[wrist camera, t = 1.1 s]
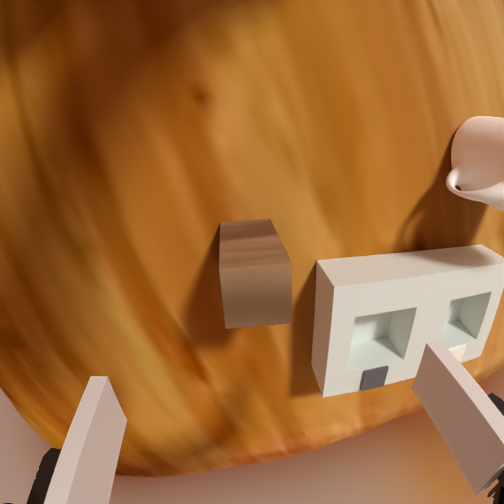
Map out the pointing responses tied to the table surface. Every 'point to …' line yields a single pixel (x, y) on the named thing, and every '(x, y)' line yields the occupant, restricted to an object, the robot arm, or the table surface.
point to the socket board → (400, 313)
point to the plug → (254, 275)
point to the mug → (479, 161)
